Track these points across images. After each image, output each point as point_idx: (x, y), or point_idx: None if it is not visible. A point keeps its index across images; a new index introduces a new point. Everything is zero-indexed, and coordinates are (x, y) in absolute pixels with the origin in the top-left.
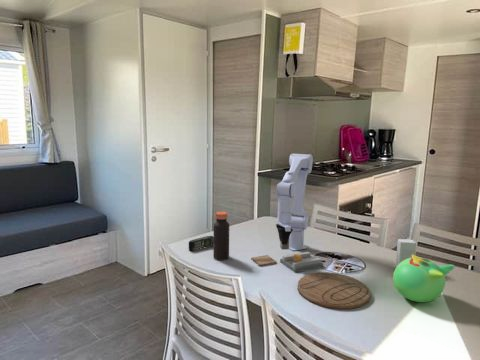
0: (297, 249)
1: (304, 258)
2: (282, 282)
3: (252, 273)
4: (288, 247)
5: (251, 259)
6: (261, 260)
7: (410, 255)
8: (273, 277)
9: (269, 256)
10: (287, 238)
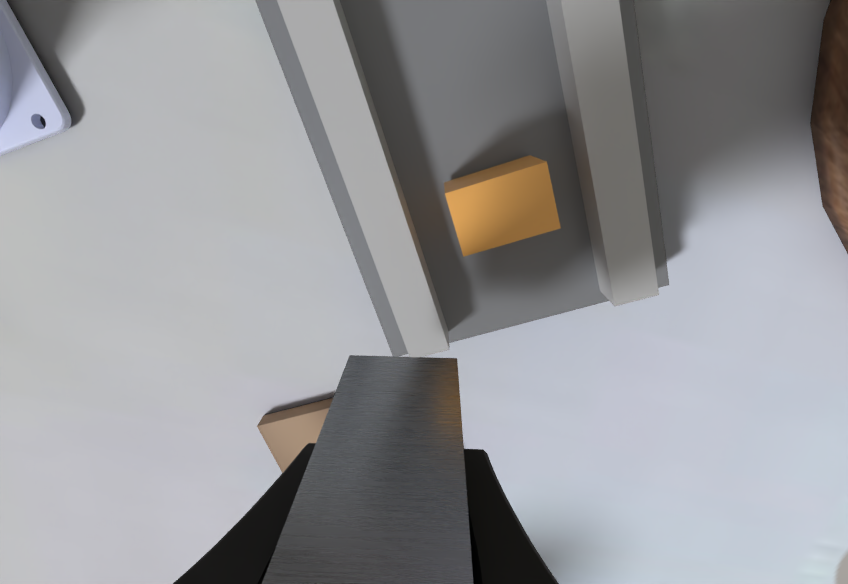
0: (30, 55)
1: (400, 75)
2: (798, 414)
3: (578, 561)
4: (456, 379)
5: None
6: None
7: None
8: (688, 454)
9: (294, 417)
10: (511, 550)
